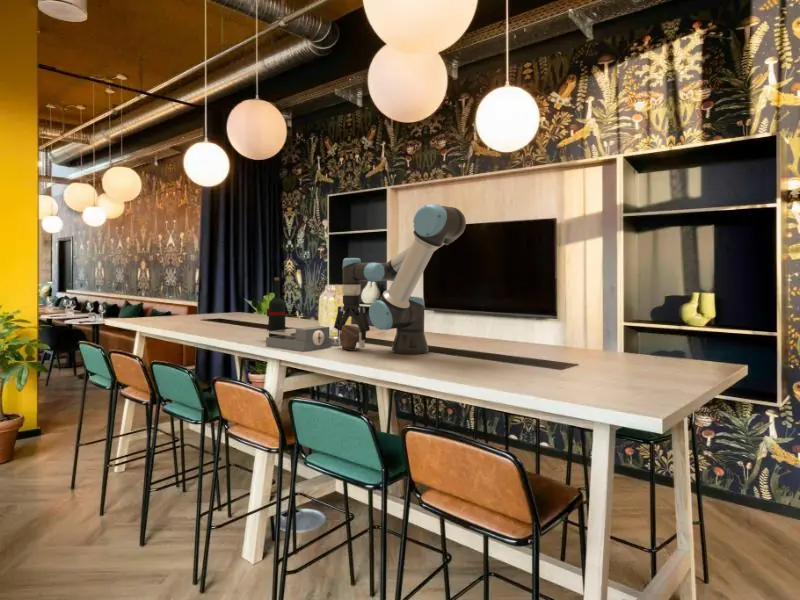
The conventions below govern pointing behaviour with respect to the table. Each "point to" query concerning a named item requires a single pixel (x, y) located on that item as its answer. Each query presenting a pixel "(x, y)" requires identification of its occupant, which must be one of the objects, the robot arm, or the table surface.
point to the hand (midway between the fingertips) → (351, 346)
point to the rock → (349, 337)
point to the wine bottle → (276, 312)
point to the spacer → (334, 341)
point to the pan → (284, 332)
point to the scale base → (302, 339)
